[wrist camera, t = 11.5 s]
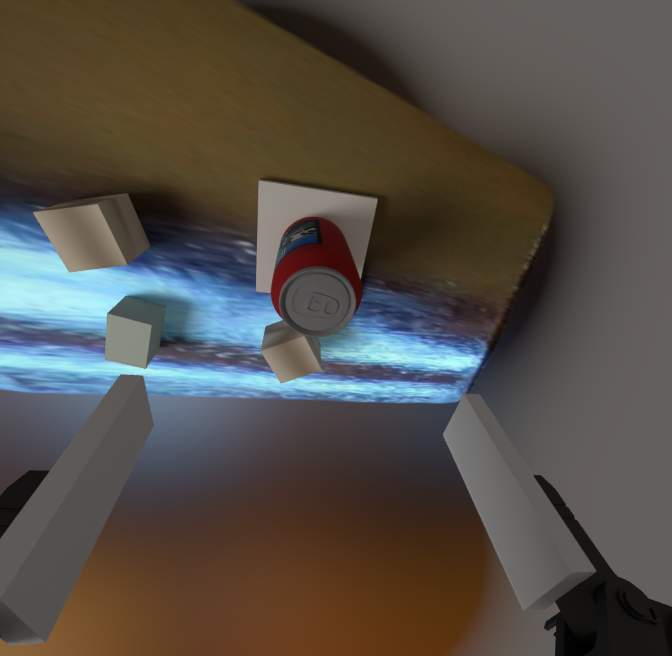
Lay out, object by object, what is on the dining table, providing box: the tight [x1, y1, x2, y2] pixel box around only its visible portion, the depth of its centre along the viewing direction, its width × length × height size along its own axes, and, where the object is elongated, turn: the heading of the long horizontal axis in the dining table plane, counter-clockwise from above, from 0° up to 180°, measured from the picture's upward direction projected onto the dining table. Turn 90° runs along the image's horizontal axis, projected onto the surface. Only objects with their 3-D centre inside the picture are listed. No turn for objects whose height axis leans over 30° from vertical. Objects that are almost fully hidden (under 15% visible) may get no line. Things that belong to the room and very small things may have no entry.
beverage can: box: [271, 217, 362, 337], centre depth 27 cm, size 7×7×12 cm
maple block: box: [261, 320, 322, 383], centre depth 36 cm, size 5×5×5 cm
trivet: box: [256, 179, 378, 293], centre depth 32 cm, size 11×11×1 cm
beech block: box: [33, 193, 151, 272], centre depth 28 cm, size 5×5×5 cm
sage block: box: [105, 296, 166, 369], centre depth 34 cm, size 4×6×4 cm, turn 157°
